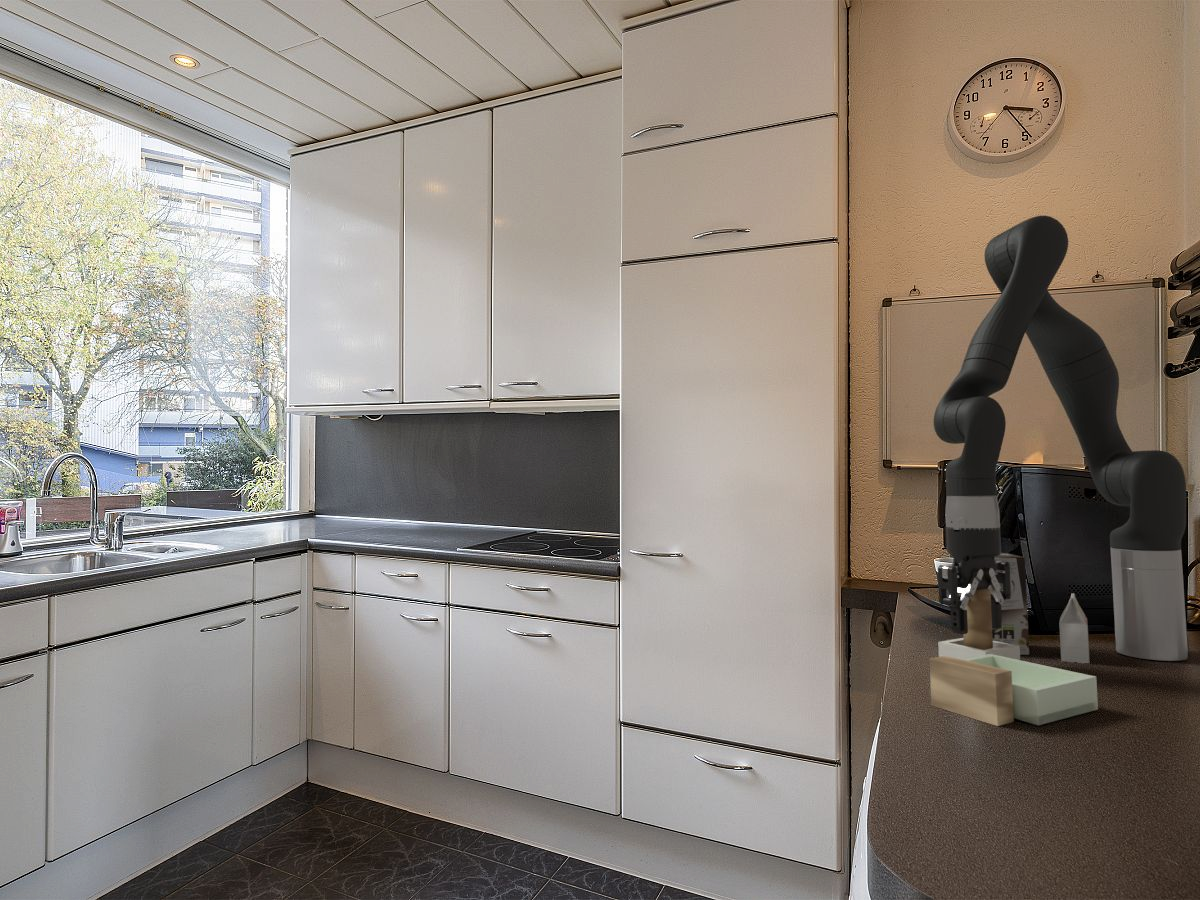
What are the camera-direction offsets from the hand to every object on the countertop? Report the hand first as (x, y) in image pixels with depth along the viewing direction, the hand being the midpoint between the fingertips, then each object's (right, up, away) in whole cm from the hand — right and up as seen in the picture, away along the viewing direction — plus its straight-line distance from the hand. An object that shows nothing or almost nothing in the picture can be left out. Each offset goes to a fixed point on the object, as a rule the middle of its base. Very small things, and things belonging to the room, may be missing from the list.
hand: (977, 630), depth 110 cm
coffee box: (+10, -6, +11) cm, 16 cm away
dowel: (0, -6, 0) cm, 6 cm away
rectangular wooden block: (-13, -5, -22) cm, 26 cm away
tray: (-5, -5, -19) cm, 20 cm away
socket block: (0, -6, 0) cm, 6 cm away
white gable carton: (+18, -6, +4) cm, 19 cm away
